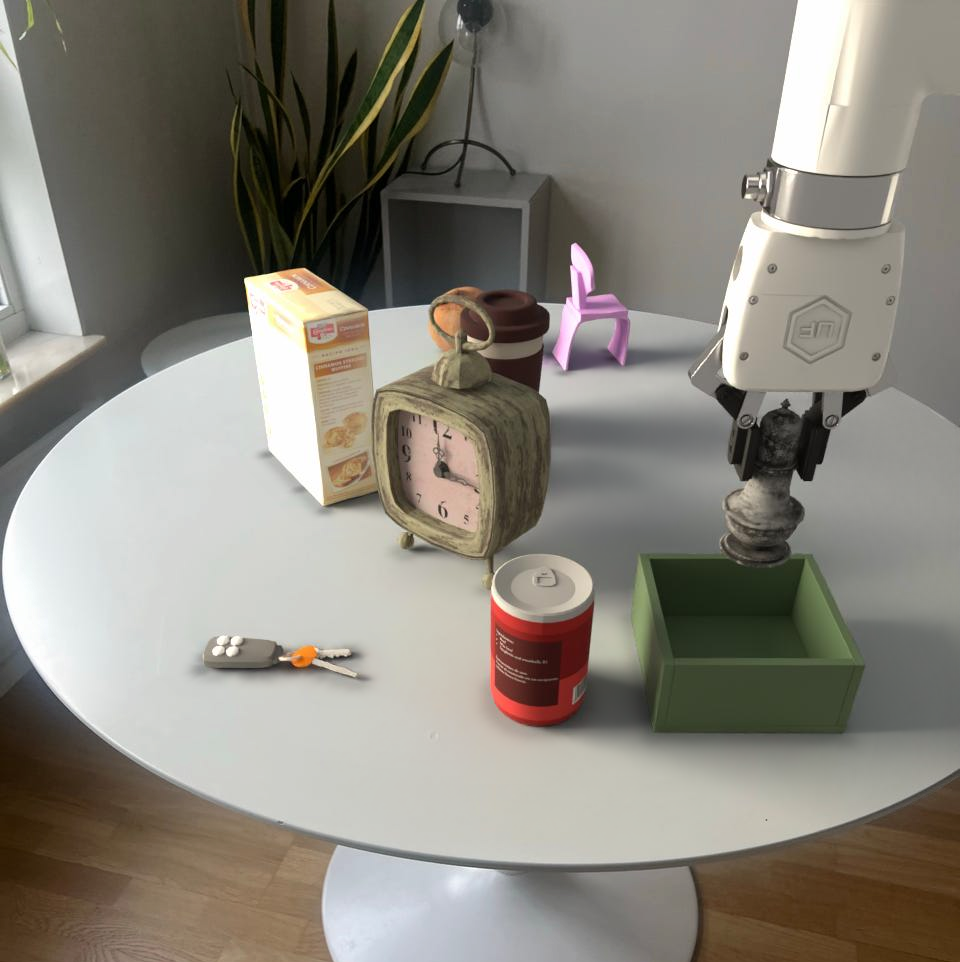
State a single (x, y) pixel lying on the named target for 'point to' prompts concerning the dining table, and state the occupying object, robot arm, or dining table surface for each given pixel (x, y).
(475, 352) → the tabletop clock
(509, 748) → the dining table surface
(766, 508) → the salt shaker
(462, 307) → the onion
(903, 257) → the robot arm
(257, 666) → the key chain
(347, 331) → the coffeecake box
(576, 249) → the toy chair
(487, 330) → the coffee cup
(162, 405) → the dining table surface
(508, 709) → the canned food
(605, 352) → the dining table surface
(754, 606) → the green planter box
